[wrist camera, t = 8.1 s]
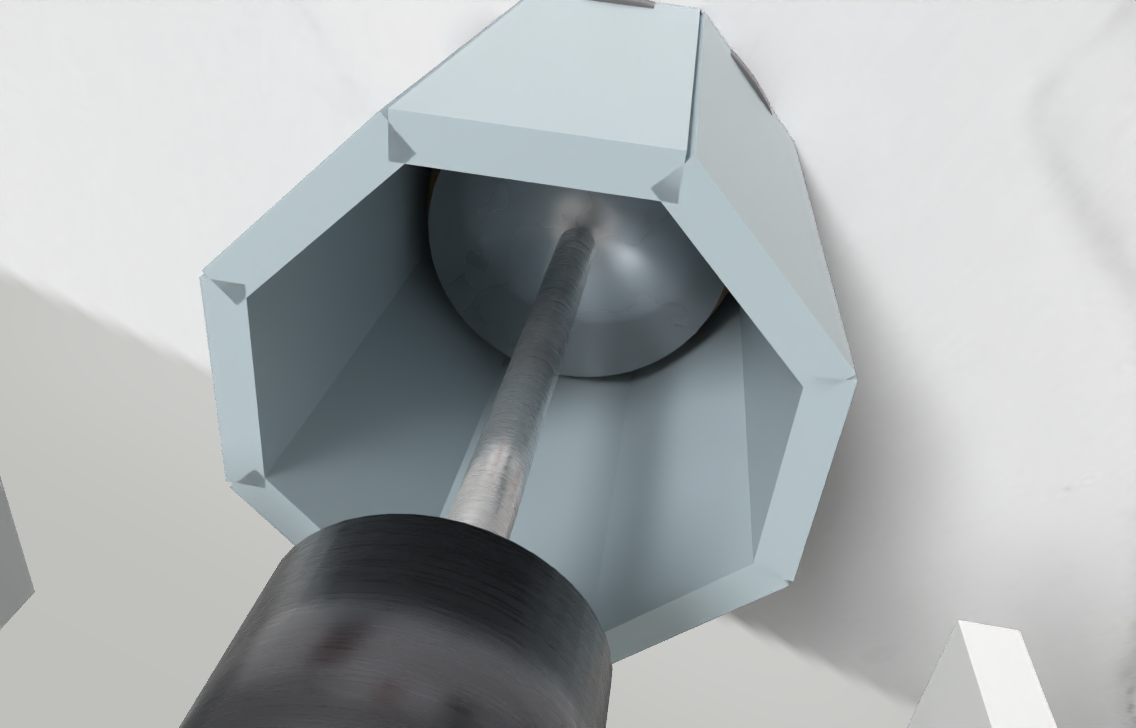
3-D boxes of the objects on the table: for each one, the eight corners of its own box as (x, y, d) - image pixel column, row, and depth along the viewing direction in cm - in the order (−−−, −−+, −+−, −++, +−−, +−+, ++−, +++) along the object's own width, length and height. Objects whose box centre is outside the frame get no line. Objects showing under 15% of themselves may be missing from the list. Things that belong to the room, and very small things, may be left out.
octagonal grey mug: (418, -32, 24) (166, 70, 13) (828, 21, 23) (929, 178, 12) (413, 401, 32) (250, 701, 20) (724, 453, 31) (729, 794, 20)
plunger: (439, 62, 22) (-259, 605, 6) (760, 106, 21) (887, 828, 6) (433, 339, 26) (3, 1088, 10) (702, 382, 25) (679, 1245, 10)
